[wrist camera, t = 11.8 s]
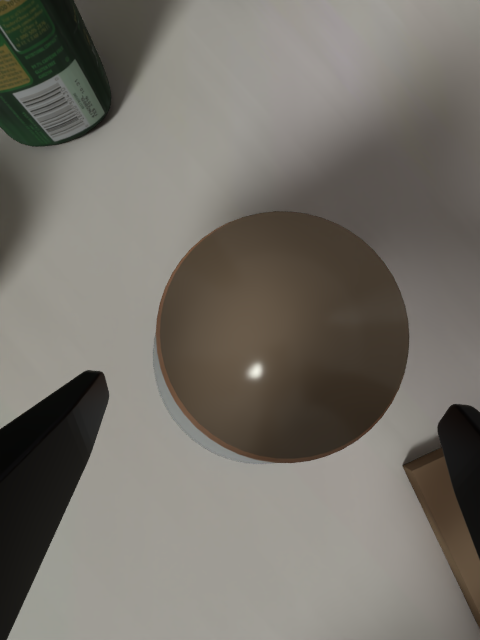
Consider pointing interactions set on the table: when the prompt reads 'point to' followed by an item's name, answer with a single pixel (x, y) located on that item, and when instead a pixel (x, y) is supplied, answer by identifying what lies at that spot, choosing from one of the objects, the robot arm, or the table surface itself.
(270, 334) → the terracotta pot
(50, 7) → the coffee jar
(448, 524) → the wooden bookend
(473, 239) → the table surface
